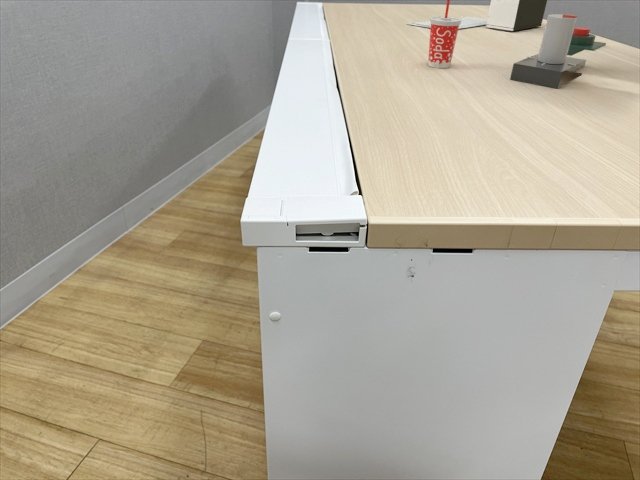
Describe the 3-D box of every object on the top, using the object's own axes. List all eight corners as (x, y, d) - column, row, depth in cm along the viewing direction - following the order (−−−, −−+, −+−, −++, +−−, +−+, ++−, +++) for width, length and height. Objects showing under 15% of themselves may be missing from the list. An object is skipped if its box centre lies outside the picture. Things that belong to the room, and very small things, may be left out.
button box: (603, 52, 118) (608, 34, 116) (590, 58, 111) (596, 40, 109) (560, 46, 123) (565, 29, 121) (546, 52, 117) (551, 34, 115)
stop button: (589, 36, 115) (592, 28, 115) (585, 38, 113) (587, 30, 112) (574, 34, 117) (576, 26, 117) (569, 36, 115) (571, 28, 114)
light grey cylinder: (533, 61, 94) (544, 14, 90) (542, 57, 97) (554, 11, 93) (559, 65, 91) (572, 17, 87) (568, 61, 94) (581, 14, 90)
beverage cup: (418, 65, 102) (428, -10, 94) (432, 60, 106) (442, -12, 98) (446, 70, 99) (458, -7, 91) (458, 65, 103) (471, -9, 95)
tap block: (536, 67, 103) (540, 51, 101) (582, 75, 98) (587, 59, 96) (509, 79, 94) (513, 62, 92) (557, 88, 89) (563, 70, 87)
